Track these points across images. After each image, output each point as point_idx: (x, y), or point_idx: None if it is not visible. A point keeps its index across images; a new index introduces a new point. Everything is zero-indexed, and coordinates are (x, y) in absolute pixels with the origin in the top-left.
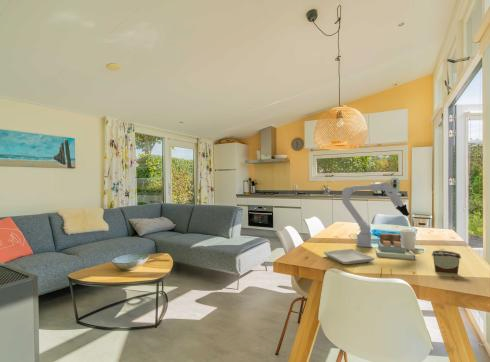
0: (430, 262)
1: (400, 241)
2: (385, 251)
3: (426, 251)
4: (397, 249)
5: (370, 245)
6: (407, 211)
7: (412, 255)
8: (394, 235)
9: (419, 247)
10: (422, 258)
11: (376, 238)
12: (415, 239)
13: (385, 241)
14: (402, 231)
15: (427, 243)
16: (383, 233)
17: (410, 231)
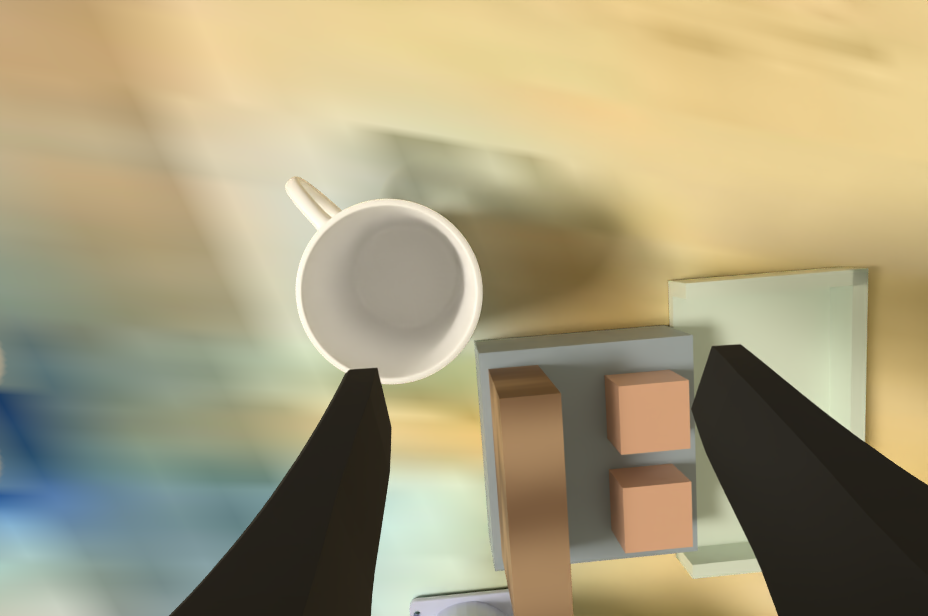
0: (879, 161)
1: (543, 372)
2: None
3: (482, 120)
4: None
5: (491, 608)
6: (837, 432)
7: (867, 291)
8: (562, 458)
9: (320, 158)
10: (770, 203)
11: (36, 552)
12: (312, 187)
13: (667, 529)
14: (443, 367)
15: (53, 33)
16: (518, 585)
17: (321, 247)
